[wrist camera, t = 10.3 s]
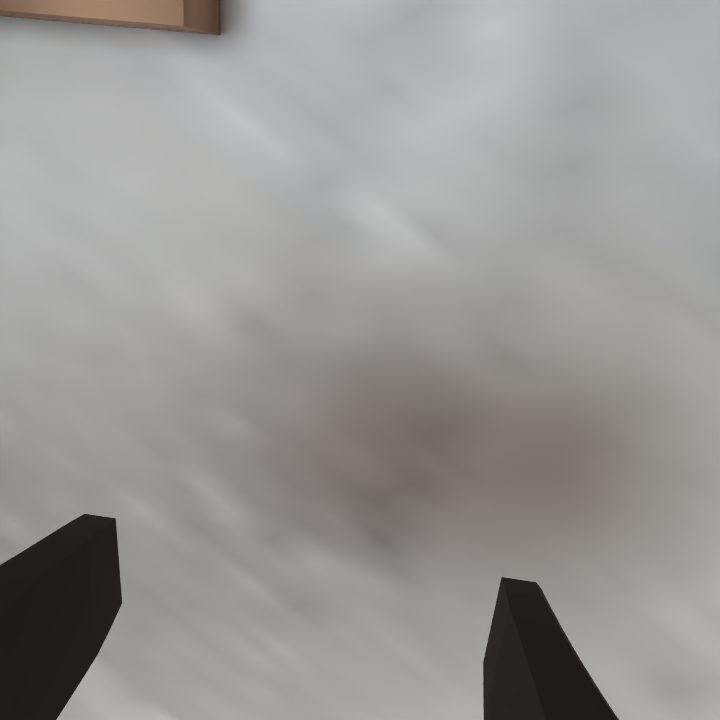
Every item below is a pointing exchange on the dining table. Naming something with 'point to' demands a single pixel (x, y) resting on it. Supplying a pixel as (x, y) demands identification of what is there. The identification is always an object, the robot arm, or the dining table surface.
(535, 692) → the robot arm
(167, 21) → the socket block
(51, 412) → the dining table surface
